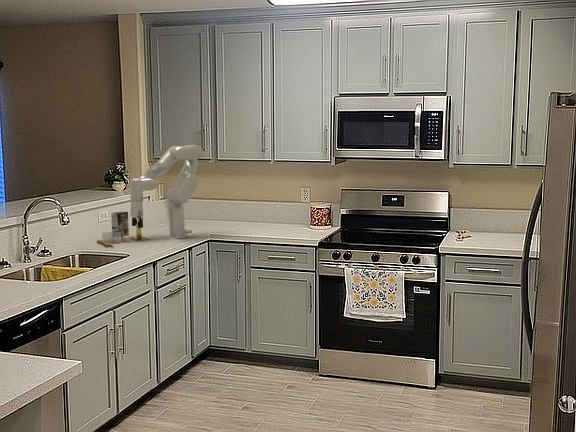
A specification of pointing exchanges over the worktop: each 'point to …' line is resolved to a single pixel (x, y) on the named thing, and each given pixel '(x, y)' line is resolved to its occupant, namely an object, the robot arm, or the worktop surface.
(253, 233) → the worktop surface
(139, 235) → the brass pin
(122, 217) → the coffee box
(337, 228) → the worktop surface
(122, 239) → the clear container
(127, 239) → the walnut board
